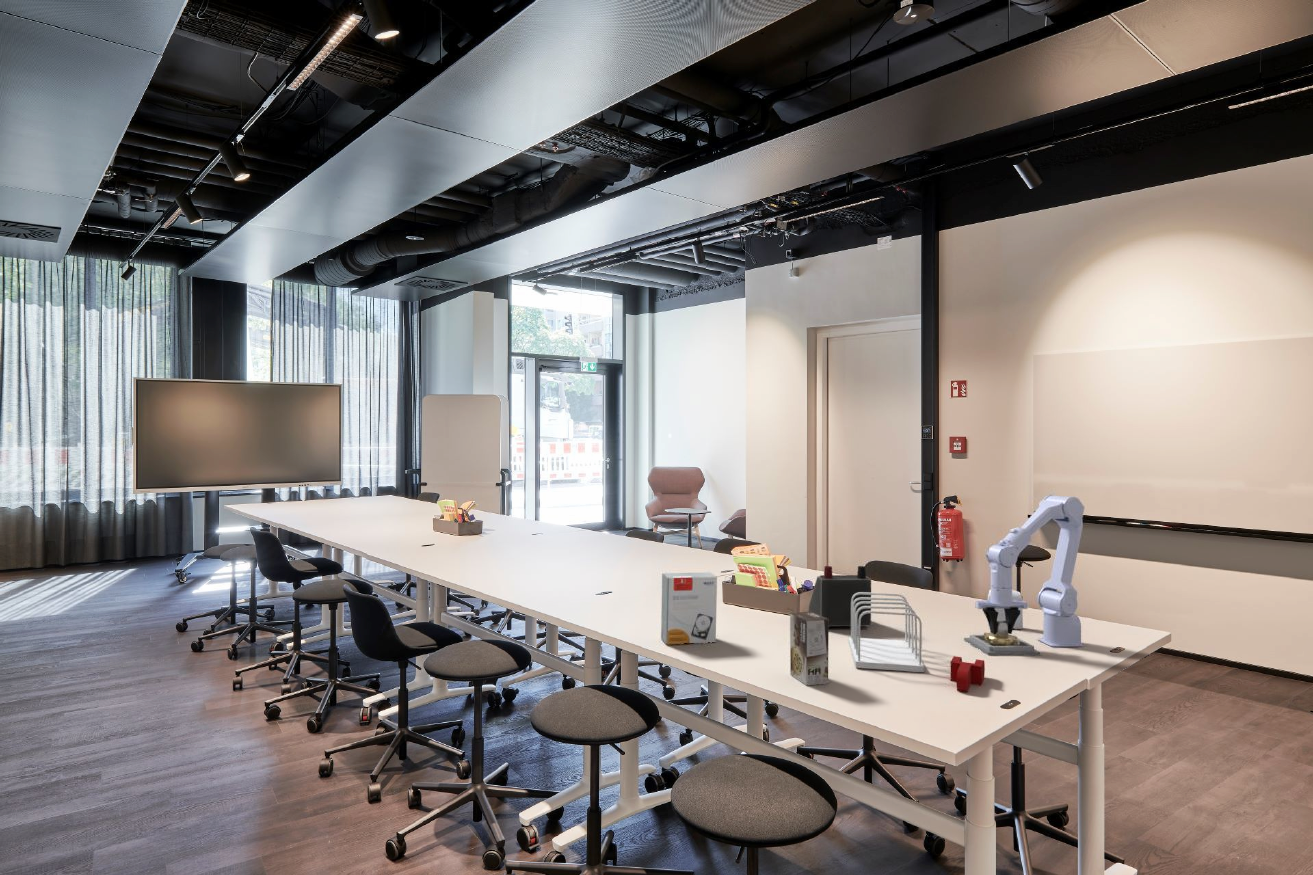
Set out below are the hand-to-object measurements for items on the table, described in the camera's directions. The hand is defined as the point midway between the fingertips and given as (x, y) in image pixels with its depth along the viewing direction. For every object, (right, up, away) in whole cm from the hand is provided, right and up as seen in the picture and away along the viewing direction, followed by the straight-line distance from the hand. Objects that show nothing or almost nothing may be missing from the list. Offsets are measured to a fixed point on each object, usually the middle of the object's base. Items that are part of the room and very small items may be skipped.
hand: (1001, 633), depth 212 cm
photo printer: (+12, -5, +23) cm, 27 cm away
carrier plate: (0, -4, 0) cm, 4 cm away
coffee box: (-62, -4, -29) cm, 69 cm away
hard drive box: (-91, -4, +6) cm, 91 cm away
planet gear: (0, -3, 0) cm, 3 cm away
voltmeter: (-41, -4, +27) cm, 49 cm away
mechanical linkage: (-24, -5, -31) cm, 39 cm away
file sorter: (-37, -4, -10) cm, 39 cm away
